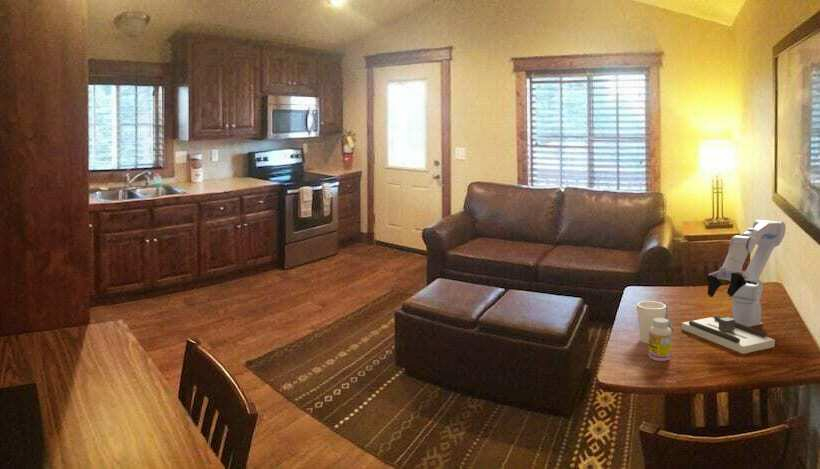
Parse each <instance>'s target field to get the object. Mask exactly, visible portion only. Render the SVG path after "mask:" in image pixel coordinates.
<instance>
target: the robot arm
mask: <svg viewBox="0 0 820 469" xmlns="http://www.w3.org/2000/svg"><path fill="white" fill-rule="evenodd" d="M785 234H786V223H785V222H784V221H783V220H782V221H775V220H763V219H758V218H757V219H756V220H755V221H754V222H753V224H752V227H749V228H747V229H746V230H745V231H743V232H742V233H741V234H740V235H738V234H737V235H735V236H732V237H731V238H730V242H729V247H728V249H727V250H728V253H727V255H726V257H725V259H724V261H723V264H722V266H720V267H719V270H716V271H713V272H709V273H708V275H707V276H706V279H707V292H706V293H707V295H708V297H710V298H713V297H714V296H715V294H716V292H717V290H718V289H719V288H720V287H721V286H722V285H723V283H722V282H721V281H720V280H722V281H729V285H728V287H727V291H726V293H727V295H728V296H729V297H730V298H731V301H732V310H731V311H732V312H731V318H732V319H735V322H736V323H739V324H742V325H745V326H747V327H750V328H752V327H754V326H759V325H763V322H761V320H762V319H761V318H762V303H761V302H760V300H761V298H762V293H763V291H764V286H763V282H762V281H761V280H760V276H761V274H762V273H763V271H764V269H765V267H766V265H767V263H768V261H769V259H770V257H771V254H772V252H773V250H774V249H775V248H776V247H778V246H780V245H781V243H782V242H783V239H784V237H785ZM756 246H757V248H756V250H755V252H754V253H753V251H754V248H755V247H756ZM749 253H750V254H751V253H753V256H752V258H751V259H750V261H749V263H748V266H747V268H746V269H745V270H742V268H743V266H744V263H745V262H746V259H747V256H748V254H749Z"/></svg>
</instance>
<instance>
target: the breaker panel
mask: <svg viewBox="0 0 820 469" xmlns="http://www.w3.org/2000/svg"><path fill="white" fill-rule="evenodd" d="M693 321H694V322H696V323H699V324H702V325H704V326H707V327H710V328H712V329H715V330H718V329H719V321H717V320H715V319H714V317H711V316H710V317H706V318H704V317H703V318H699V319H694V320H693ZM681 330H682V331H685V332H687V333H690V334H692V335H695V336H698V337H700V338H702V339H705V340H707V341H710V342H712V343H715V344H717V345H720V346H722V347H725V348H727V349H730V350H732V351H735V352H737V353H739V354H742V355H744V354H749V353H752V352H758V351H763V350H766V349H771V348H775V344H776V340H775V339H774V338H771V337H768V336H766V337H762V336H759V335H756V334H753V333H751V332H748V331H745V330H742V329H739V328H737V327H735V329H734V331H730V332H724V331H721V330H718V331H720V332H723V333H726V334H728V335H731V336H734V337H736V338H739V339H740V342H739V343H736V342H733V341H731V340H728V339H726V338H723V337H720V336H718V335H715V334H712V333H710V332H707V331H705V330H702V329H699V328H697V327H694V326H692V325H689V321H684V322H681Z"/></svg>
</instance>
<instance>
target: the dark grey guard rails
mask: <svg viewBox="0 0 820 469" xmlns="http://www.w3.org/2000/svg"><path fill="white" fill-rule="evenodd" d="M713 318H714V319H715V320H717V321H719V319H720V318H723V317H721V316H719V315H715V316H714V317H713ZM688 322H689V325H692V326H694V327H697V328H699V329H702V330H705V331H707V332H710V333H712V334H715V335H718V336H720V337H723V338H726V339H728V340H731V341H733V342H736V343H739V342H740V339H739V338H736V337H734V336H731V335H728V334H726V333H723V332H720V331H718V330H715V329H712V328H710V327H707V326H704V325H702V324H699V323H696V322H694V320H689V321H688ZM735 327H737V328H739V329H742V330H745V331H748V332H751V333H753V334H756V335H759V336H762V337H768V333H767V332H765V331H762V330H759V329H756V328H753V327H747V326H745V325H742V324H739V323H736V322H735Z"/></svg>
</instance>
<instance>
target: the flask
mask: <svg viewBox="0 0 820 469" xmlns="http://www.w3.org/2000/svg"><path fill="white" fill-rule="evenodd" d="M660 303H663V304H665V305H666V314H665V319H668V320H669V325H668V327H669V328H670V329H671V331H672V332H673V330H674V327H673V325H672V322H671V319H670V318H671V317H670V316H669V313H668V312H669V311H668V305H669V303H668V302H667V301H666V302H665V301H662V302H661V301H660Z"/></svg>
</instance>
